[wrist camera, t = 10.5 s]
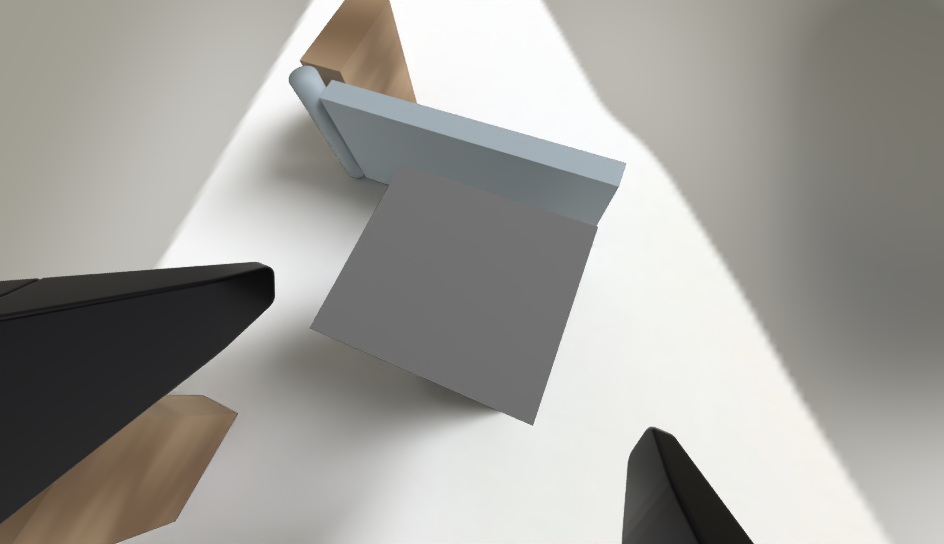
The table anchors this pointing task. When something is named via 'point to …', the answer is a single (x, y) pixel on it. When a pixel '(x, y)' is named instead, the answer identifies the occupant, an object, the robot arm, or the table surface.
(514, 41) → the table surface
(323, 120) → the door
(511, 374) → the tall gray pillar
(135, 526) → the wooden blocks
